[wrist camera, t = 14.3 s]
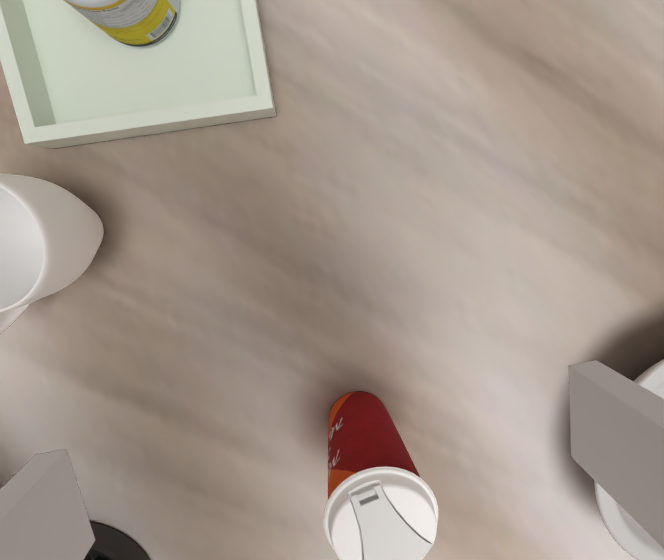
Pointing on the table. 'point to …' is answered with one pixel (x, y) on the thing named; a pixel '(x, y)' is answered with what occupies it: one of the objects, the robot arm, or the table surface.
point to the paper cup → (374, 487)
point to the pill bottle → (131, 18)
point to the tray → (132, 73)
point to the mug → (41, 242)
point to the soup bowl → (618, 522)
